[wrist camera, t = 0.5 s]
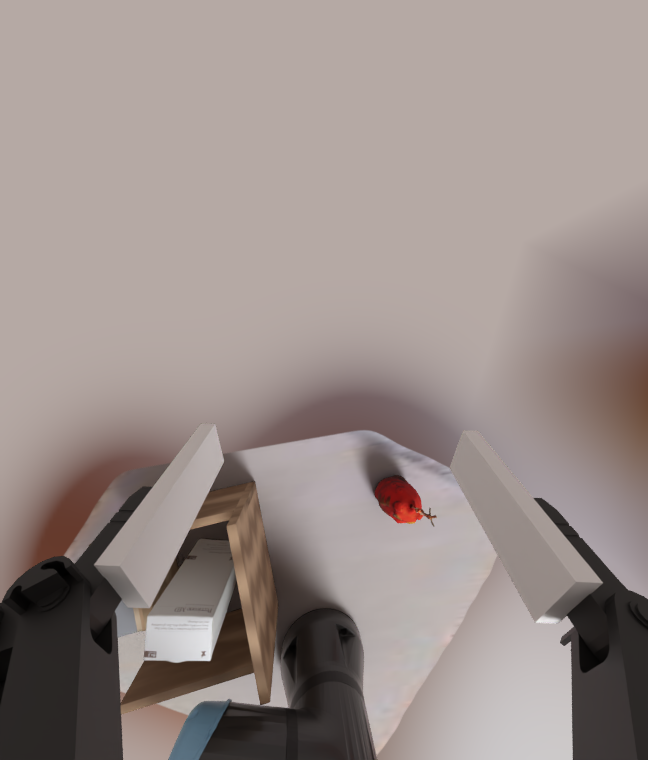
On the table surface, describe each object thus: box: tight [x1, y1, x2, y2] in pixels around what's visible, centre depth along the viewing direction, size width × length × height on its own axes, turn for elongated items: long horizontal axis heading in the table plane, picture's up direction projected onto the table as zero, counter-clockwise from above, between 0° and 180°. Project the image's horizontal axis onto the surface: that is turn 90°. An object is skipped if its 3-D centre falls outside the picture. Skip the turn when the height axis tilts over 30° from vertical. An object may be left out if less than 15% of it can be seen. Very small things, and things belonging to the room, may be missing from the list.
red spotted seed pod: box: [375, 475, 437, 527], centre depth 41 cm, size 8×7×15 cm
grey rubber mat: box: [115, 600, 139, 637], centre depth 42 cm, size 10×10×1 cm
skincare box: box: [143, 539, 237, 663], centre depth 37 cm, size 8×6×15 cm
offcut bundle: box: [133, 558, 179, 632], centre depth 39 cm, size 12×5×8 cm, turn 11°
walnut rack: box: [89, 481, 278, 714], centre depth 37 cm, size 23×21×14 cm
